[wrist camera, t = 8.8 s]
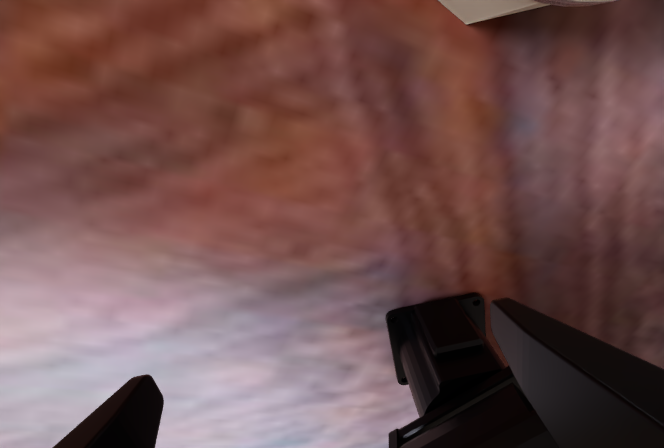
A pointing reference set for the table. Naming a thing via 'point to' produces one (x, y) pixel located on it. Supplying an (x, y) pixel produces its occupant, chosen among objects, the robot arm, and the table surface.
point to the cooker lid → (574, 2)
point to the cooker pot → (487, 8)
